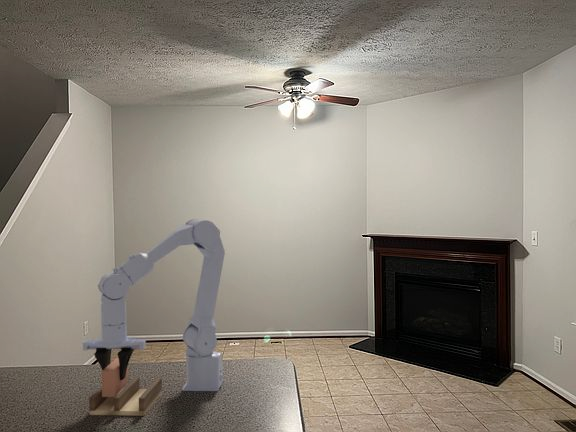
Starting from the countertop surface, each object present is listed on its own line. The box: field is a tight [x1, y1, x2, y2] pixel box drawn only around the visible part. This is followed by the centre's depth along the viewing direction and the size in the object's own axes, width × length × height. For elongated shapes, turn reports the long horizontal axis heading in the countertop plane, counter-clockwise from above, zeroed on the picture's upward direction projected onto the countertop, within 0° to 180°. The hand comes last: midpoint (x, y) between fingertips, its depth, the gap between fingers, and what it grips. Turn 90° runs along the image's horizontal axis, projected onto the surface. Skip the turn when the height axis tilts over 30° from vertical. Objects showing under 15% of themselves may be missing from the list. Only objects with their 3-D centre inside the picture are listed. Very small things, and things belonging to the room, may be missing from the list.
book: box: [101, 357, 130, 397], centre depth 118 cm, size 3×10×6 cm, turn 1°
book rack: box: [88, 376, 163, 417], centre depth 118 cm, size 13×13×4 cm
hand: (115, 378), depth 118 cm, fingers closed on book, 3 cm apart
